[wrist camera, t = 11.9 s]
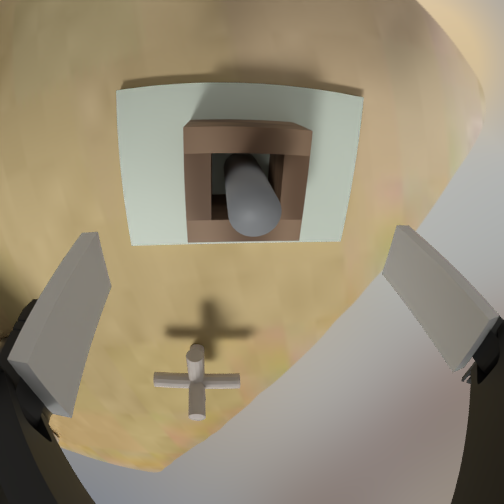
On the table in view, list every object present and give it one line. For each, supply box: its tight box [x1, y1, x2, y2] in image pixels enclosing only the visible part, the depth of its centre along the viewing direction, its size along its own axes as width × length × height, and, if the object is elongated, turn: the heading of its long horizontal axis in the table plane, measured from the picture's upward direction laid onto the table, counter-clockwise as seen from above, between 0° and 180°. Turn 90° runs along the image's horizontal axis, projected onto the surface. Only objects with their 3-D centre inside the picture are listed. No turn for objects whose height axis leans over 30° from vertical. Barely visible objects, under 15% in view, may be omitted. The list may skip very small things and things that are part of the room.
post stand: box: [116, 83, 364, 246], centre depth 19 cm, size 20×14×10 cm
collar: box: [183, 119, 313, 243], centre depth 20 cm, size 8×8×5 cm
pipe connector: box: [154, 344, 240, 421], centre depth 31 cm, size 10×10×10 cm
